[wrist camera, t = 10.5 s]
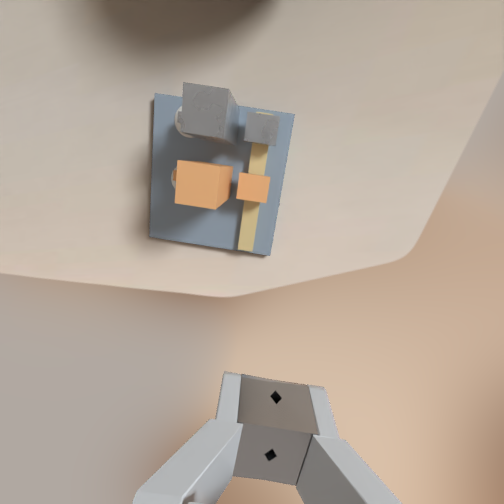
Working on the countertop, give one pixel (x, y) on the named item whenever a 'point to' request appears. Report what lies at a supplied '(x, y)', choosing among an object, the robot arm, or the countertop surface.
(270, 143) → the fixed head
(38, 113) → the countertop surface
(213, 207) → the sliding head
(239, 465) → the robot arm
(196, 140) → the board
